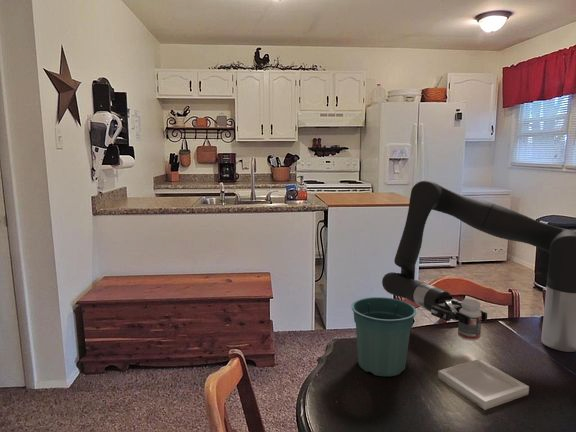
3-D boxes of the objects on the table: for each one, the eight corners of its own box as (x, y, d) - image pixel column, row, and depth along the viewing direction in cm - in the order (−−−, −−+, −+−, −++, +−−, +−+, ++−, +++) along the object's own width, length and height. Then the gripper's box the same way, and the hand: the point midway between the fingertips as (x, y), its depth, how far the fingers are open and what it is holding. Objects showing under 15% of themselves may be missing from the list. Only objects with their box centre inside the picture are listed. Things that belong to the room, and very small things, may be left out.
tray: (478, 365, 108) (479, 358, 108) (528, 394, 95) (529, 386, 95) (437, 377, 103) (438, 370, 102) (484, 410, 90) (485, 401, 90)
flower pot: (361, 345, 120) (362, 292, 117) (419, 358, 112) (422, 302, 110) (341, 371, 106) (342, 312, 103) (405, 389, 98) (408, 325, 95)
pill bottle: (482, 342, 110) (484, 307, 108) (460, 340, 111) (461, 305, 110) (477, 332, 116) (479, 299, 114) (455, 331, 117) (457, 298, 115)
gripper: (414, 290, 122) (458, 310, 107) (450, 283, 128) (497, 301, 112) (413, 314, 123) (456, 337, 108) (449, 306, 129) (496, 327, 113)
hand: (477, 319), depth 110 cm, fingers closed on pill bottle, 5 cm apart
